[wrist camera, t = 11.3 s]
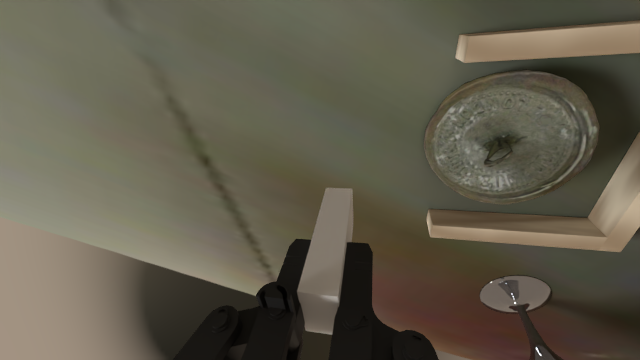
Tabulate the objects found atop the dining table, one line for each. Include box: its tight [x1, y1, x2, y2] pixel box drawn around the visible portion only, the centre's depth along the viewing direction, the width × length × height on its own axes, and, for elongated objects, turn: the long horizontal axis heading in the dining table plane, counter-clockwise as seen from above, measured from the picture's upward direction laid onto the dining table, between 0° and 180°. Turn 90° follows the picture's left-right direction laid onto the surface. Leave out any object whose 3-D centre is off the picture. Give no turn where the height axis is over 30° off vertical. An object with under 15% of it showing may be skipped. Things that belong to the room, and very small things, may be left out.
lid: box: [424, 69, 600, 204], centre depth 19 cm, size 11×10×5 cm
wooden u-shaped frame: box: [427, 20, 640, 252], centre depth 20 cm, size 17×15×2 cm
